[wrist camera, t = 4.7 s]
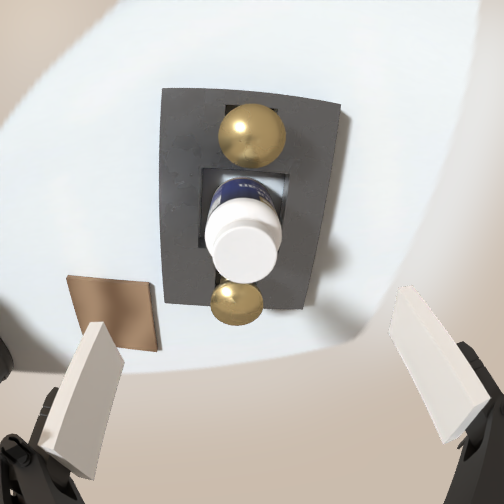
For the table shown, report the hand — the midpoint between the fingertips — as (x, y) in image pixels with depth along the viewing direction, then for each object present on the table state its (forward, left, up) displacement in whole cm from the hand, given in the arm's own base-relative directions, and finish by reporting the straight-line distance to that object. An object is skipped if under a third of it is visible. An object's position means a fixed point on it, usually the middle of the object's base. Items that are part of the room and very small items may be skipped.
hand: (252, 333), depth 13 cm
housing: (0, 0, -16) cm, 16 cm away
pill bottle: (0, 0, -17) cm, 17 cm away
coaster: (-14, -14, -16) cm, 26 cm away
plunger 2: (0, -7, -14) cm, 16 cm away
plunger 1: (0, +7, -14) cm, 16 cm away
